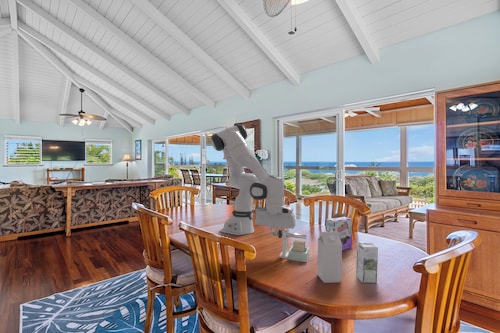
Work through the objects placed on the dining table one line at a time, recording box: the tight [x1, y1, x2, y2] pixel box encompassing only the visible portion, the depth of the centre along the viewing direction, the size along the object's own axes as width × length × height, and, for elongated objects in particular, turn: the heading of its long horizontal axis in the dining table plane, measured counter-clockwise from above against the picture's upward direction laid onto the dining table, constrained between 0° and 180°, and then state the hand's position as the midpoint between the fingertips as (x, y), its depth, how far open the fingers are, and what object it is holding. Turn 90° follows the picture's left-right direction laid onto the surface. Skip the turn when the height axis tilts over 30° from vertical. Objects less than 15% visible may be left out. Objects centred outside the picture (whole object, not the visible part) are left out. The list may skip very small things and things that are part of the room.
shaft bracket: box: [278, 228, 310, 263], centre depth 125 cm, size 13×9×13 cm, turn 70°
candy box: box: [325, 216, 353, 251], centre depth 137 cm, size 14×6×16 cm, turn 117°
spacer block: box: [292, 238, 306, 253], centre depth 124 cm, size 5×5×8 cm
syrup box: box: [355, 241, 379, 284], centre depth 101 cm, size 6×6×14 cm
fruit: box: [331, 212, 347, 219], centre depth 158 cm, size 11×11×15 cm
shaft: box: [277, 229, 307, 240], centre depth 125 cm, size 13×4×4 cm, turn 70°
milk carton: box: [317, 231, 343, 284], centre depth 102 cm, size 7×7×19 cm
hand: (274, 235), depth 128 cm, fingers closed
